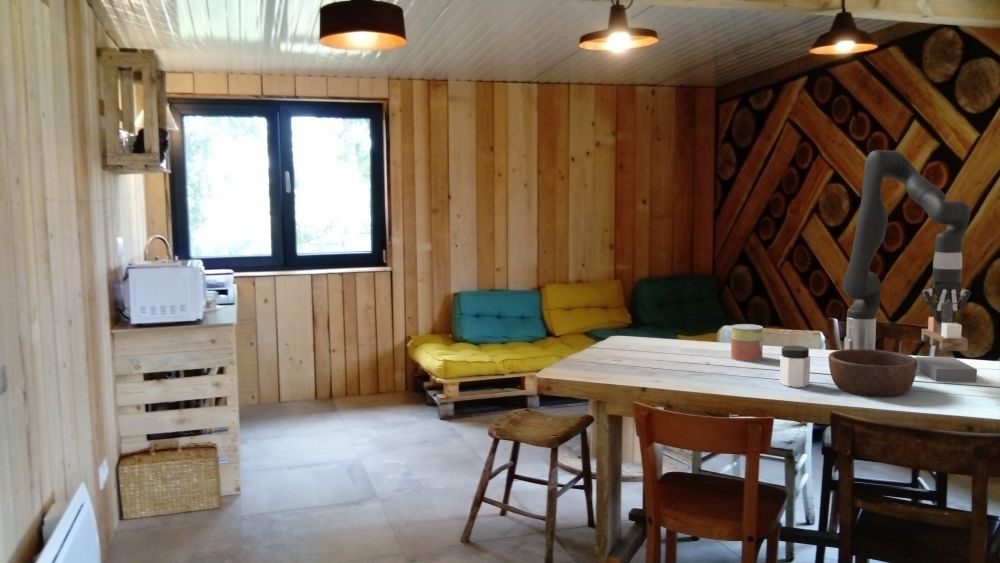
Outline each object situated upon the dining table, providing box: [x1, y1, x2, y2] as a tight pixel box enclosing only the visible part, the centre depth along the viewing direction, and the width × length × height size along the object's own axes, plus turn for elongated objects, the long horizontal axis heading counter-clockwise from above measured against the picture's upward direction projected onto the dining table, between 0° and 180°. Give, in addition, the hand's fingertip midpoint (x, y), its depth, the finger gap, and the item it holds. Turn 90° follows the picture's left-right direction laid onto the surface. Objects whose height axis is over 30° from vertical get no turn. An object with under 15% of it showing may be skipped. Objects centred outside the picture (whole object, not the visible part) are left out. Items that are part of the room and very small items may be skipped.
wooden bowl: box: [828, 349, 918, 398], centre depth 236 cm, size 25×25×10 cm
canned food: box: [730, 323, 764, 363], centre depth 282 cm, size 11×11×12 cm
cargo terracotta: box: [927, 316, 937, 332], centre depth 237 cm, size 4×4×4 cm
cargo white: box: [941, 322, 963, 338], centre depth 227 cm, size 4×4×4 cm
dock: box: [914, 356, 978, 383], centre depth 251 cm, size 12×18×4 cm, turn 171°
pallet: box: [920, 300, 969, 352], centre depth 232 cm, size 7×16×14 cm, turn 171°
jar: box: [779, 345, 811, 388], centre depth 243 cm, size 9×8×12 cm
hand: (944, 322), depth 232 cm, fingers closed on pallet, 3 cm apart
